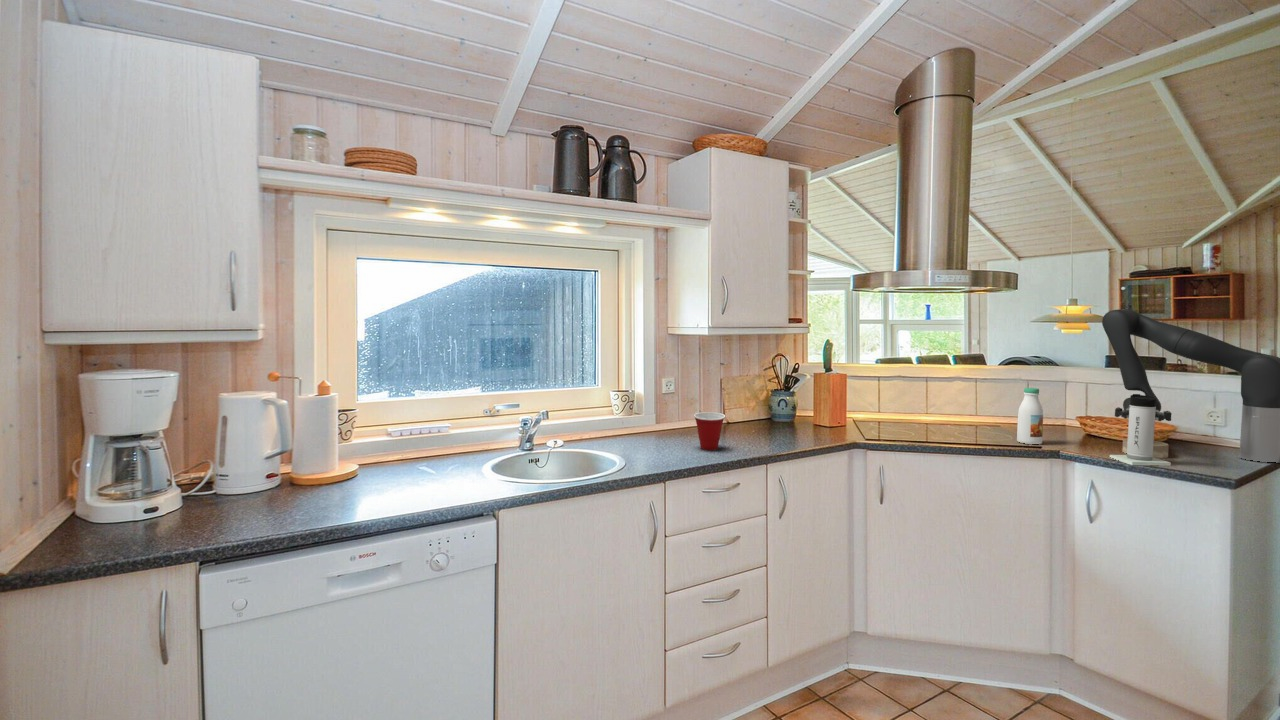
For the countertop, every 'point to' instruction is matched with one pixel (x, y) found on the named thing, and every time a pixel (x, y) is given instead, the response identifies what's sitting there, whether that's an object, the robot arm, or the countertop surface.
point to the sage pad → (1140, 461)
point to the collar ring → (1158, 449)
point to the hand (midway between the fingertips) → (1142, 416)
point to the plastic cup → (709, 429)
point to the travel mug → (1141, 427)
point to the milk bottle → (1030, 418)
